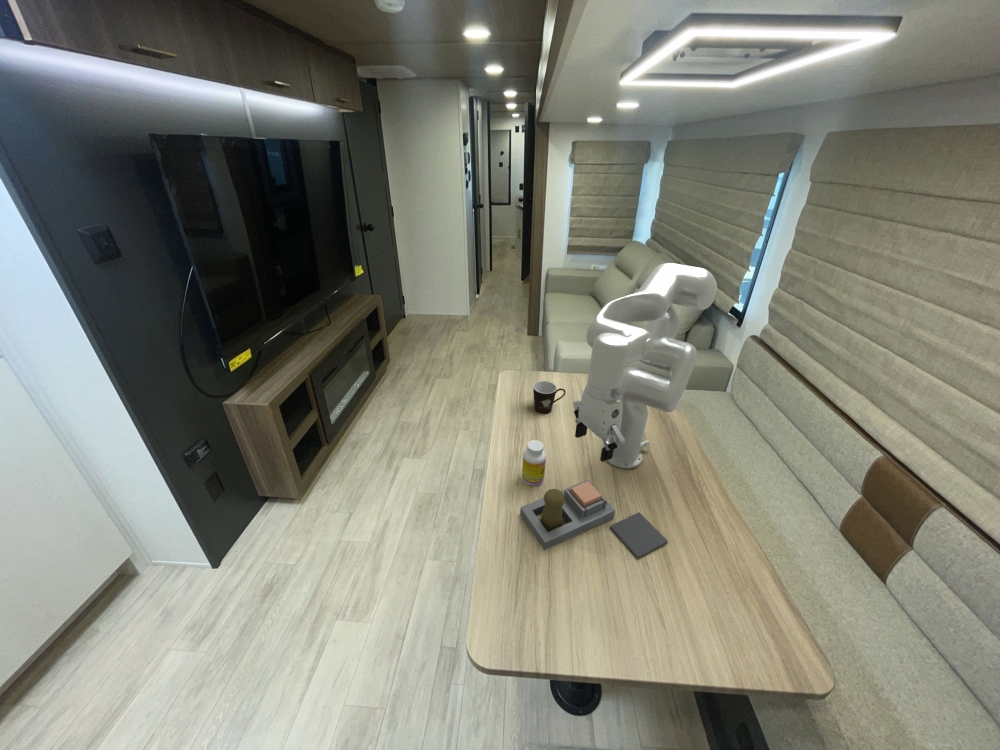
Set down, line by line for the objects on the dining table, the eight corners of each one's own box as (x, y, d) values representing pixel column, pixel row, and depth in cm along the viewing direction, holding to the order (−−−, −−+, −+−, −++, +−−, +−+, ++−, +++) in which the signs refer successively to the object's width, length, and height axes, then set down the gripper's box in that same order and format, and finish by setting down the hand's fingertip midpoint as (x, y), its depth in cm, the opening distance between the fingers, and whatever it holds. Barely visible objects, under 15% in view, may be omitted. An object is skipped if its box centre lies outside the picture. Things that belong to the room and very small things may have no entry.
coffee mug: (529, 413, 145) (530, 391, 140) (534, 401, 152) (535, 379, 147) (560, 419, 143) (563, 396, 137) (564, 406, 150) (566, 384, 145)
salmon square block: (586, 489, 109) (588, 481, 108) (599, 503, 105) (601, 495, 103) (570, 495, 107) (571, 488, 105) (583, 510, 103) (584, 502, 101)
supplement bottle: (542, 488, 114) (545, 455, 107) (519, 484, 115) (522, 451, 109) (544, 472, 120) (548, 439, 113) (523, 468, 121) (525, 436, 114)
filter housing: (585, 487, 115) (588, 473, 112) (613, 518, 105) (617, 503, 103) (520, 514, 106) (521, 500, 103) (544, 550, 97) (546, 536, 94)
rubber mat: (638, 514, 107) (639, 512, 106) (667, 543, 99) (668, 540, 99) (609, 527, 103) (610, 525, 102) (637, 559, 95) (638, 557, 95)
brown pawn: (547, 536, 100) (551, 506, 94) (535, 519, 105) (538, 489, 99) (567, 527, 102) (572, 498, 97) (554, 511, 107) (557, 481, 101)
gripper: (644, 403, 82) (629, 465, 91) (592, 367, 96) (583, 423, 104) (617, 412, 79) (604, 475, 88) (566, 374, 92) (559, 431, 101)
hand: (592, 447), depth 96 cm, fingers open, 9 cm apart
